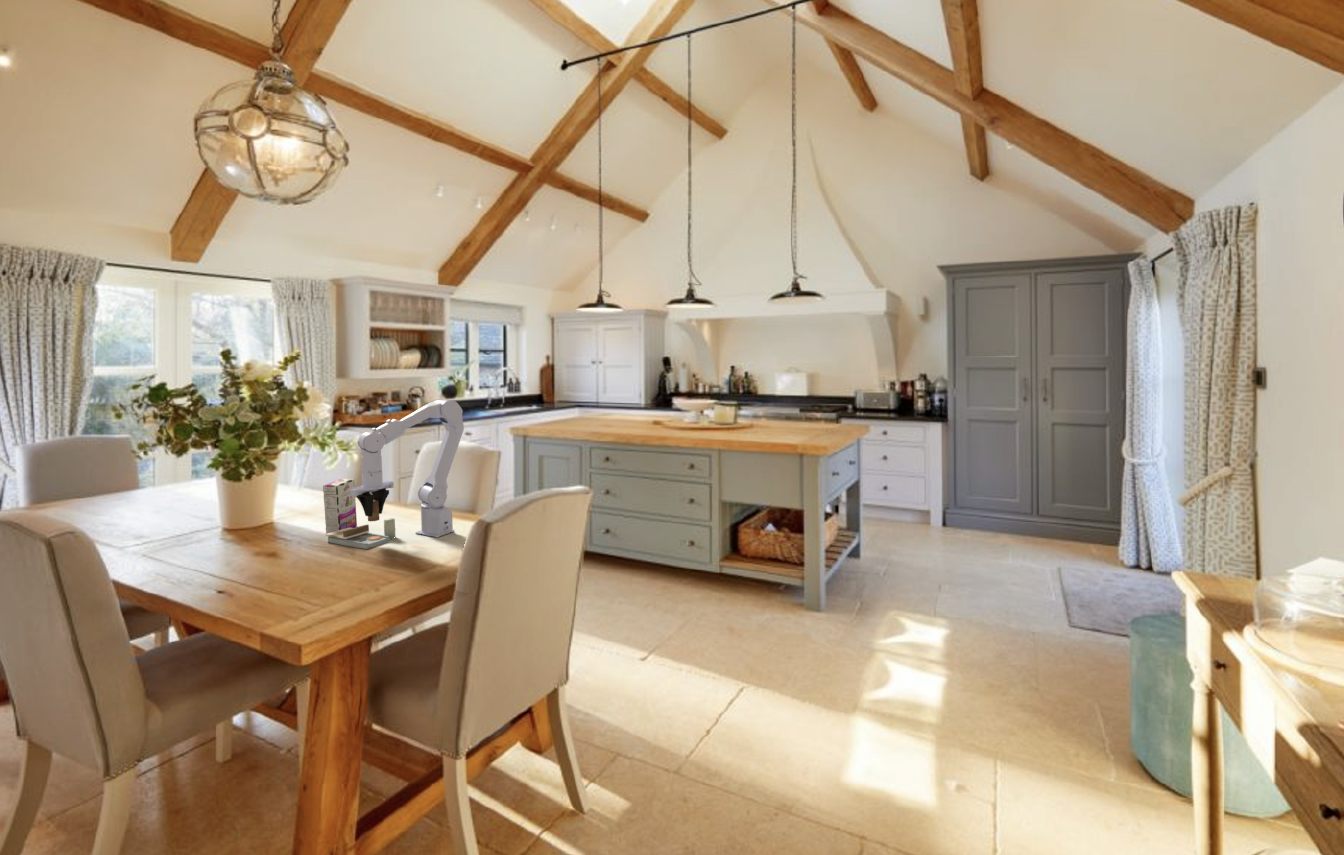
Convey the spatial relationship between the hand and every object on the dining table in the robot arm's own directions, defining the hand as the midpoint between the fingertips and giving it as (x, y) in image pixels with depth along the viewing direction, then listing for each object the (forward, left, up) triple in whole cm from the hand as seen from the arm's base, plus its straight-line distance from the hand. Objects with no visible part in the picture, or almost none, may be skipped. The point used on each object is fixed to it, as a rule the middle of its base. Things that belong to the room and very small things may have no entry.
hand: (373, 514), depth 202 cm
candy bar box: (+21, -5, -9) cm, 23 cm away
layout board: (+5, +2, -9) cm, 10 cm away
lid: (+10, +2, -7) cm, 12 cm away
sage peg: (0, -6, -9) cm, 11 cm away
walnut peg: (0, 0, -2) cm, 2 cm away
